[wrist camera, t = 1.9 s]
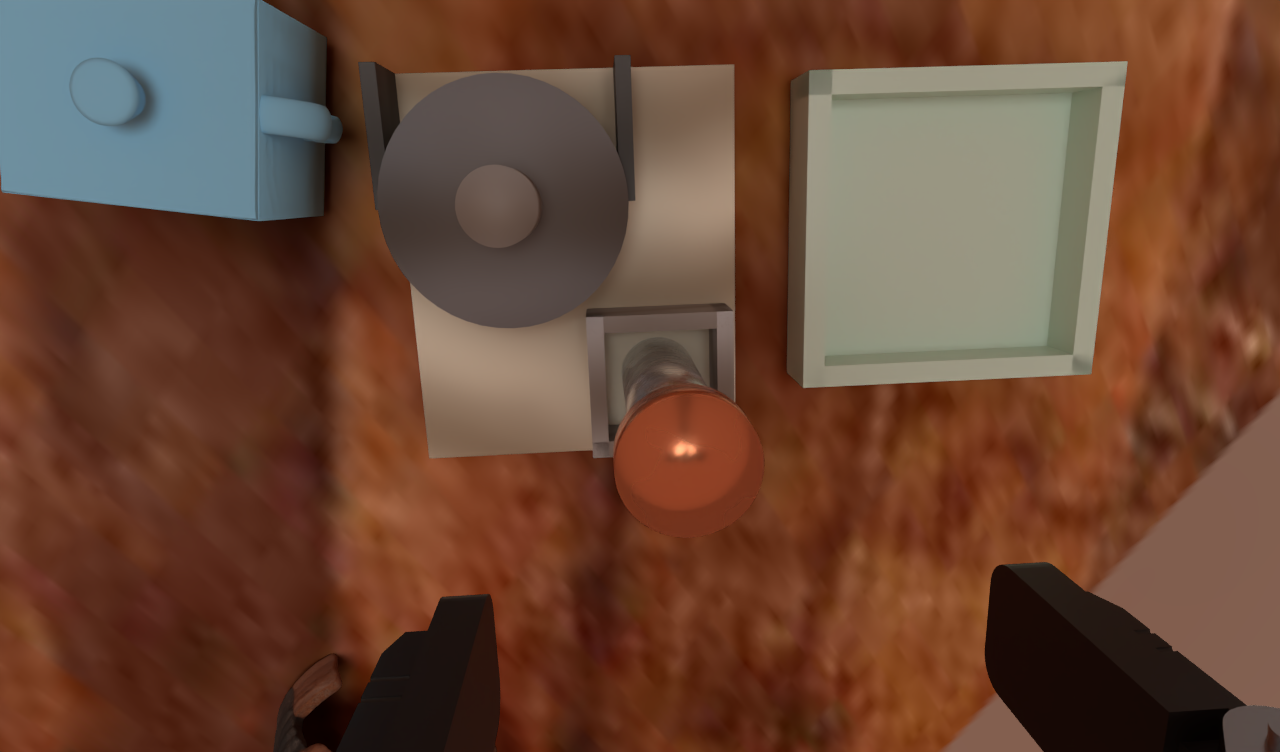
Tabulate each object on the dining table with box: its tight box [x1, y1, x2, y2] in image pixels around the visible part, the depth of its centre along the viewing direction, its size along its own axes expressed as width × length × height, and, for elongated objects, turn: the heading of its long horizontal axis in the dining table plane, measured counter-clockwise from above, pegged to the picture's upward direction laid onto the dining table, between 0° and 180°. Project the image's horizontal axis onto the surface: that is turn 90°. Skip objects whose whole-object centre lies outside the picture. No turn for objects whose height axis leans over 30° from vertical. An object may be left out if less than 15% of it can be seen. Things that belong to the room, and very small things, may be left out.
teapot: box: [0, 0, 343, 221], centre depth 23 cm, size 12×6×8 cm, turn 83°
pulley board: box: [358, 55, 735, 458], centre depth 26 cm, size 14×12×6 cm
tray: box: [787, 61, 1128, 388], centre depth 28 cm, size 11×11×2 cm
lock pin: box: [613, 337, 764, 538], centre depth 24 cm, size 4×4×10 cm
